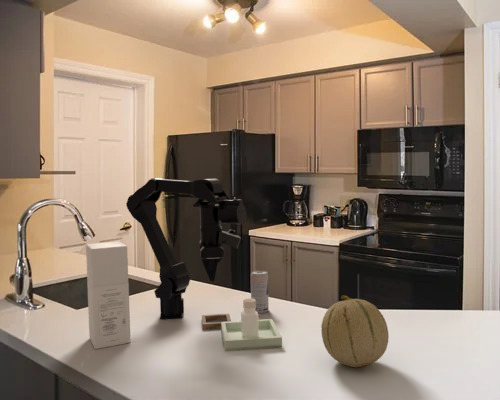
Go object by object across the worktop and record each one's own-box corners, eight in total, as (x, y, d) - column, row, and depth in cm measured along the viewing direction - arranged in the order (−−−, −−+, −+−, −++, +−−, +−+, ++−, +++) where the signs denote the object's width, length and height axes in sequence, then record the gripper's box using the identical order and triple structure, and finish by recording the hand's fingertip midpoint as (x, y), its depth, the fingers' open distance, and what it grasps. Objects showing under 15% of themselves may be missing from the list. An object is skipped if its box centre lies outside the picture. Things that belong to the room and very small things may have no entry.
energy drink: (269, 308, 144) (268, 270, 143) (268, 313, 139) (267, 274, 138) (252, 307, 145) (251, 270, 144) (250, 313, 139) (249, 274, 139)
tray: (225, 351, 110) (224, 340, 110) (221, 331, 124) (221, 322, 124) (282, 347, 112) (281, 337, 112) (272, 327, 126) (272, 319, 126)
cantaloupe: (377, 385, 92) (377, 311, 91) (310, 369, 100) (309, 301, 99) (396, 358, 104) (396, 294, 103) (335, 346, 112) (335, 286, 111)
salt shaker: (241, 334, 120) (240, 298, 119) (256, 333, 121) (255, 297, 120) (243, 339, 116) (243, 302, 115) (259, 338, 117) (258, 301, 116)
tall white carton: (123, 332, 125) (120, 241, 123) (130, 342, 117) (127, 245, 115) (89, 338, 120) (85, 244, 119) (94, 349, 113) (90, 249, 111)
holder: (202, 329, 126) (202, 324, 125) (201, 320, 134) (201, 315, 133) (231, 327, 127) (231, 322, 126) (229, 318, 134) (229, 313, 134)
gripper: (242, 226, 122) (243, 283, 123) (235, 218, 140) (236, 269, 141) (200, 227, 120) (201, 285, 121) (198, 219, 139) (200, 270, 140)
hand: (211, 277), depth 131 cm, fingers open, 9 cm apart
